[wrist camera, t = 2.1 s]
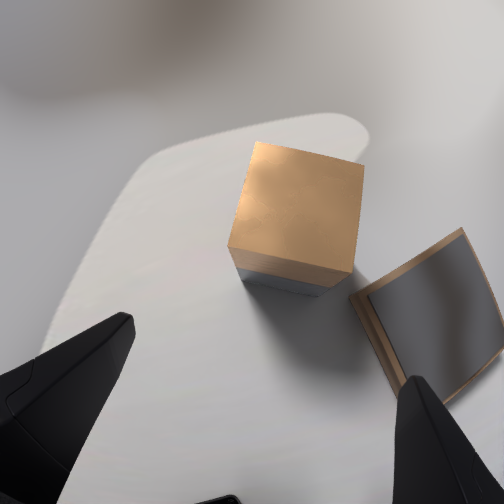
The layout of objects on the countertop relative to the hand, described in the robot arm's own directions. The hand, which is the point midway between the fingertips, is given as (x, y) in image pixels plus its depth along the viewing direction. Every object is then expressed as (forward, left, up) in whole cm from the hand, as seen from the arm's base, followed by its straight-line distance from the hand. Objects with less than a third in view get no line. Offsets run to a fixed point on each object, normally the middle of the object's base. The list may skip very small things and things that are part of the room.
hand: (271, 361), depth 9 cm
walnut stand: (+12, -5, -13) cm, 18 cm away
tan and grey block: (+4, +5, -13) cm, 14 cm away
